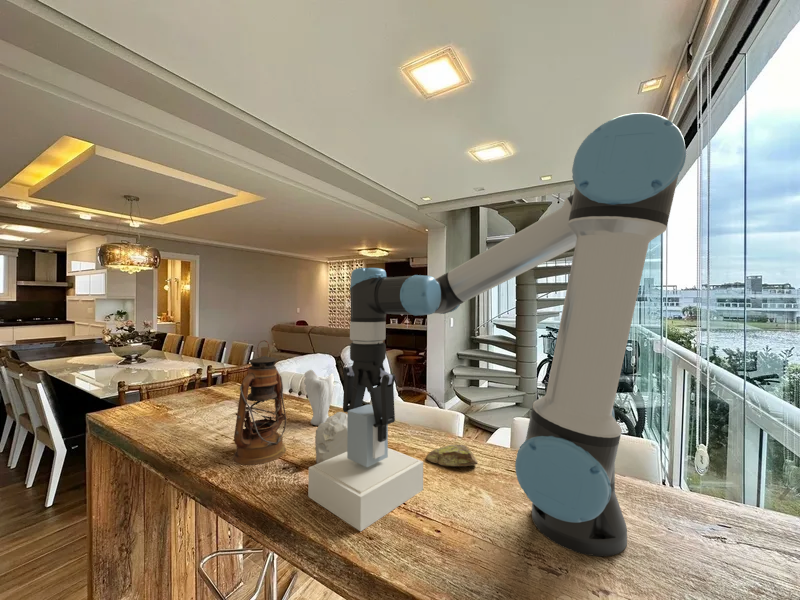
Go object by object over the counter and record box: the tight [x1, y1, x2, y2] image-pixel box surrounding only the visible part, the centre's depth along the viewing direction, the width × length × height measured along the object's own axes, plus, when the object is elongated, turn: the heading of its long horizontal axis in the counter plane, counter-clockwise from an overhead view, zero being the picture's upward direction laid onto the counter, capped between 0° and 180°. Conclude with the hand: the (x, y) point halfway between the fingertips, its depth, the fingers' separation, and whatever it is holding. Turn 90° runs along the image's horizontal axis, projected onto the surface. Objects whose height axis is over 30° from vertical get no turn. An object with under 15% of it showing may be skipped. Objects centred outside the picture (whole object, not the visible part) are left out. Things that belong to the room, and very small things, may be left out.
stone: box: [315, 411, 348, 464], centre depth 87 cm, size 10×5×12 cm, turn 122°
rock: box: [425, 444, 479, 467], centre depth 87 cm, size 12×7×10 cm
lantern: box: [232, 340, 288, 466], centre depth 90 cm, size 17×13×30 cm
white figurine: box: [303, 369, 335, 426], centre depth 113 cm, size 8×8×18 cm
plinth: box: [307, 447, 424, 532], centre depth 72 cm, size 16×18×6 cm
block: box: [347, 404, 389, 467], centre depth 72 cm, size 6×6×10 cm
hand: (367, 451), depth 72 cm, fingers closed on block, 6 cm apart
